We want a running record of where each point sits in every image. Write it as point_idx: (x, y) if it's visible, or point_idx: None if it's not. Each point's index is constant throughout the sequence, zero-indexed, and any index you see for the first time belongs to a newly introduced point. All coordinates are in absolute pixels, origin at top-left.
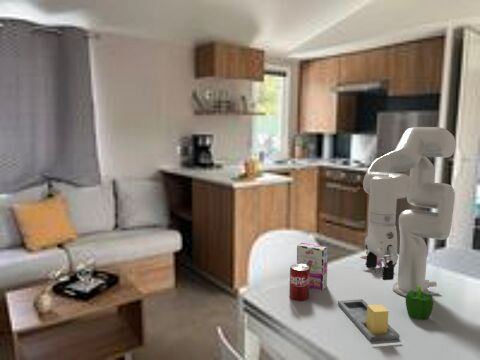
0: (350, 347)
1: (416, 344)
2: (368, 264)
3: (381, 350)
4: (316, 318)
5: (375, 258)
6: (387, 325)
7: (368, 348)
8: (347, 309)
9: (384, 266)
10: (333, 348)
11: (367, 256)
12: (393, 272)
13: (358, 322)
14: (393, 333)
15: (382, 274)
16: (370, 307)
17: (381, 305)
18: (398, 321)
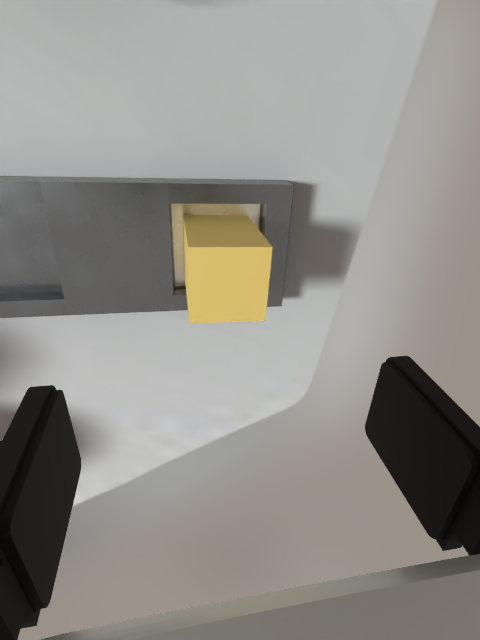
0: (278, 359)
1: (322, 114)
2: (73, 490)
3: (318, 276)
4: (83, 407)
5: (30, 497)
6: (254, 225)
7: (297, 311)
8: (42, 309)
9: (449, 538)
10: (272, 401)
11: (38, 609)
12: (451, 402)
13: (168, 306)
14: (277, 205)
15: (391, 469)
16: (217, 318)
17: (203, 252)
18: (112, 63)
